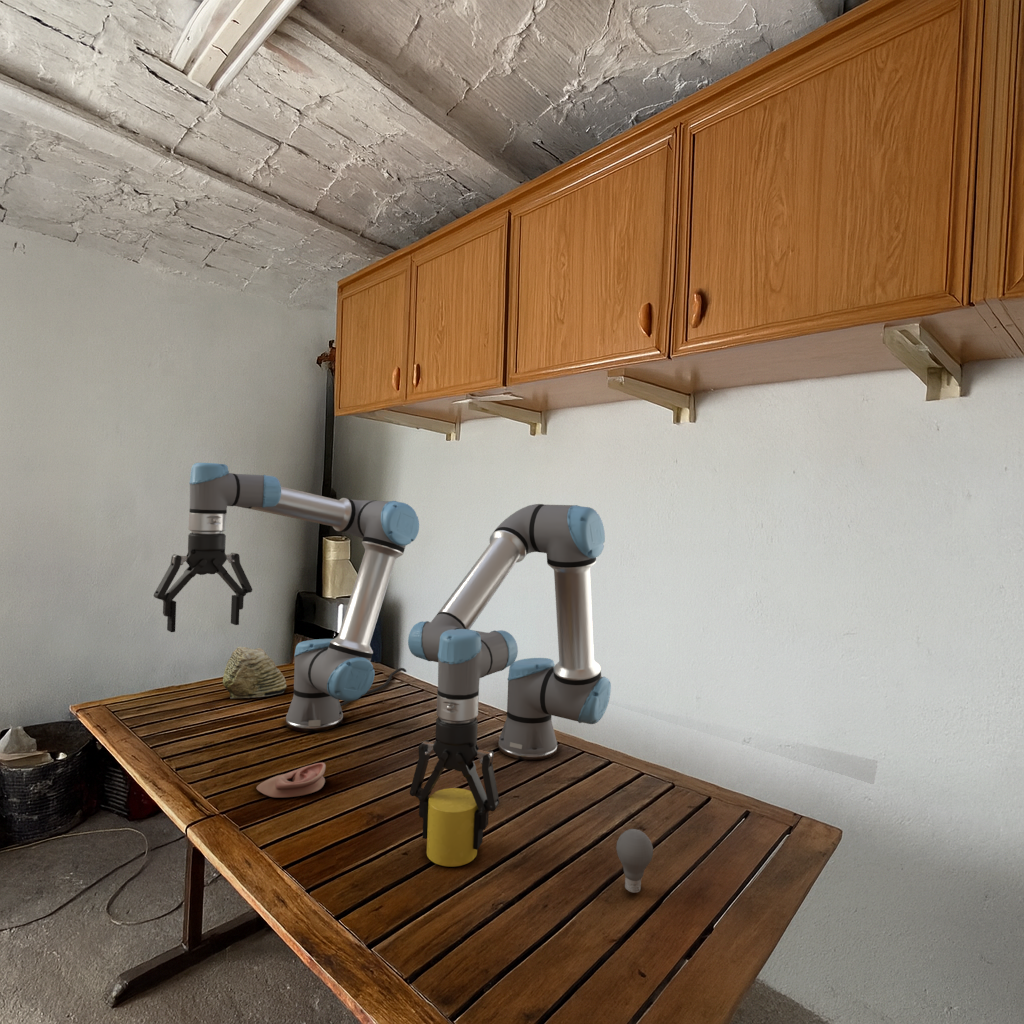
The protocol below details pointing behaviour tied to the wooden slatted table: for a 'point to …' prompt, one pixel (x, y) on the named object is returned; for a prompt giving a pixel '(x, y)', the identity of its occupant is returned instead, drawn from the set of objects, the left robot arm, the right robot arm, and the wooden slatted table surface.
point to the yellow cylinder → (451, 827)
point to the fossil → (252, 674)
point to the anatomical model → (295, 782)
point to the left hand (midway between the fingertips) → (204, 627)
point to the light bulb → (634, 857)
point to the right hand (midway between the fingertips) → (452, 840)
